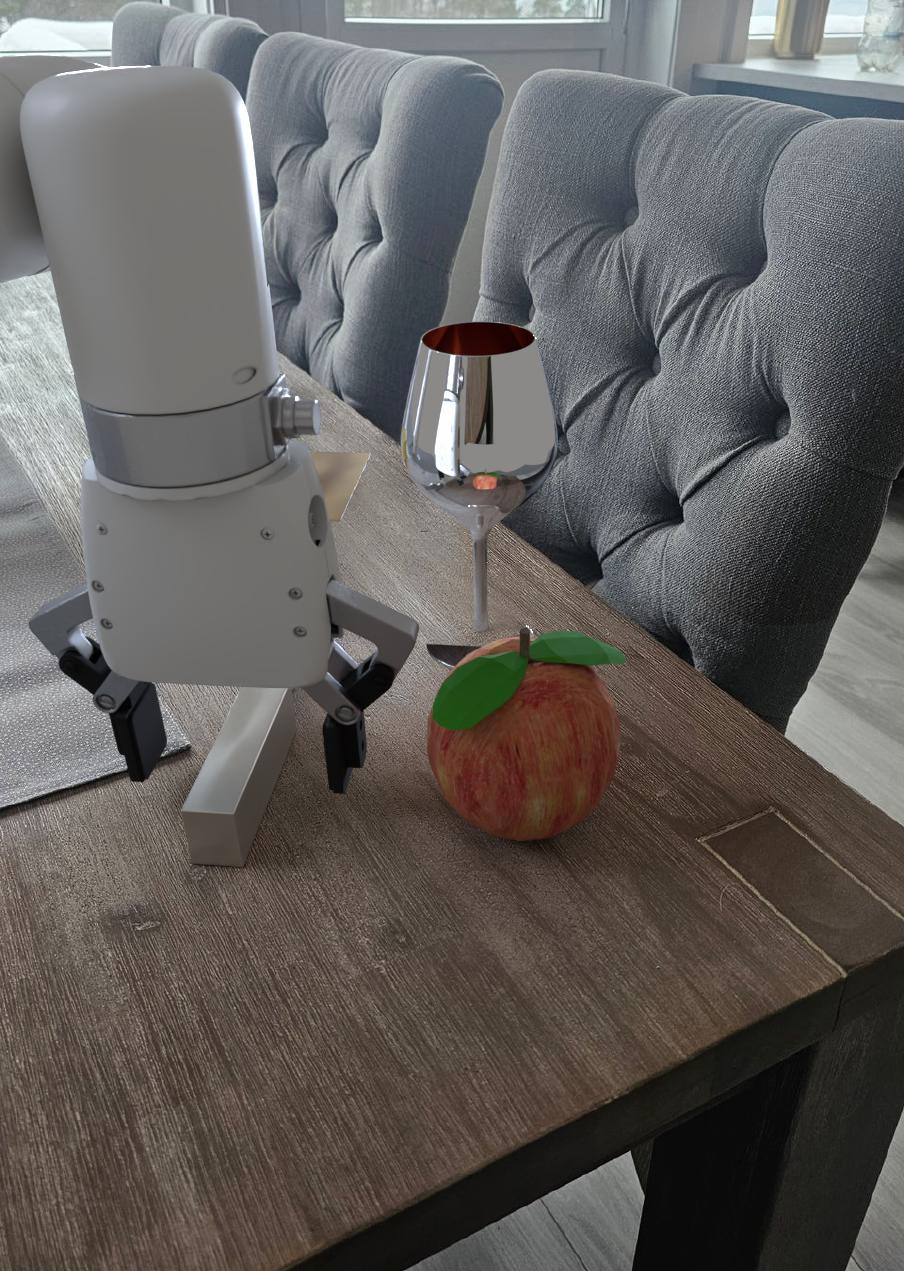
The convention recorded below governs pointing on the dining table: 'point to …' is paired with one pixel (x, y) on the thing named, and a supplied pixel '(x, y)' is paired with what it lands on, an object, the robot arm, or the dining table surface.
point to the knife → (239, 776)
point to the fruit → (526, 734)
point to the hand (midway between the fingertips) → (246, 768)
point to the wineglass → (478, 435)
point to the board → (339, 478)
